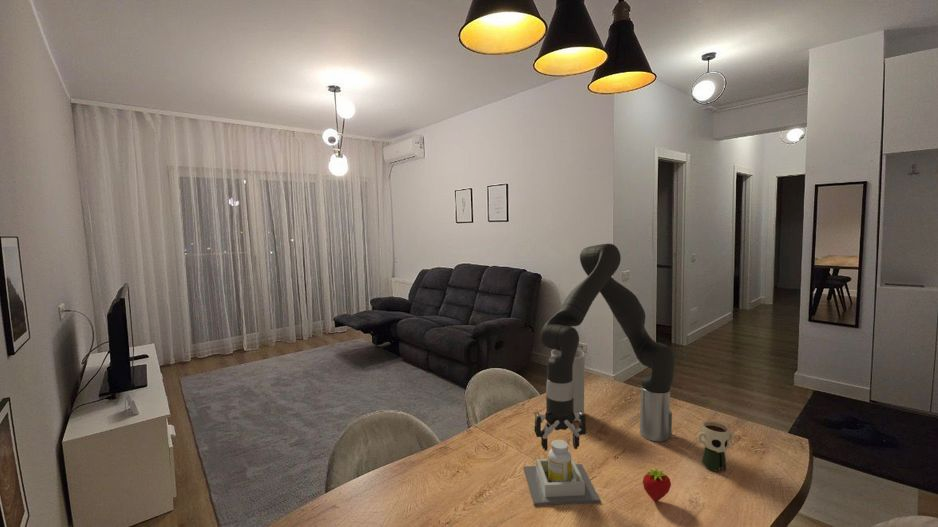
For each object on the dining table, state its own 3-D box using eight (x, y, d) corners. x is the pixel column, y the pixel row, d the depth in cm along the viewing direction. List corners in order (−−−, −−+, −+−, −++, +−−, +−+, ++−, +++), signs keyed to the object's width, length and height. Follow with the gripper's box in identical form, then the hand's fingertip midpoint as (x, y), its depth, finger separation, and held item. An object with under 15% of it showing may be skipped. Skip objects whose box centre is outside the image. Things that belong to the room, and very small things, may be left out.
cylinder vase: (587, 422, 151) (588, 358, 148) (554, 422, 151) (554, 358, 148) (579, 407, 163) (579, 347, 161) (548, 407, 163) (548, 348, 161)
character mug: (704, 475, 119) (706, 433, 117) (689, 461, 126) (691, 421, 124) (739, 472, 119) (741, 431, 118) (722, 458, 126) (724, 419, 125)
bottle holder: (581, 466, 124) (581, 453, 124) (600, 502, 108) (600, 487, 108) (523, 468, 124) (523, 455, 123) (533, 505, 108) (533, 490, 107)
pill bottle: (569, 475, 119) (569, 438, 117) (572, 489, 112) (573, 450, 111) (547, 474, 119) (547, 437, 118) (549, 488, 113) (549, 449, 112)
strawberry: (676, 506, 106) (677, 470, 105) (651, 511, 104) (652, 475, 103) (660, 491, 112) (661, 457, 111) (636, 496, 110) (637, 462, 109)
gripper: (580, 387, 117) (580, 440, 119) (532, 389, 116) (532, 442, 118) (589, 398, 109) (589, 454, 111) (537, 401, 109) (538, 457, 111)
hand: (560, 448), depth 115 cm, fingers open, 8 cm apart
